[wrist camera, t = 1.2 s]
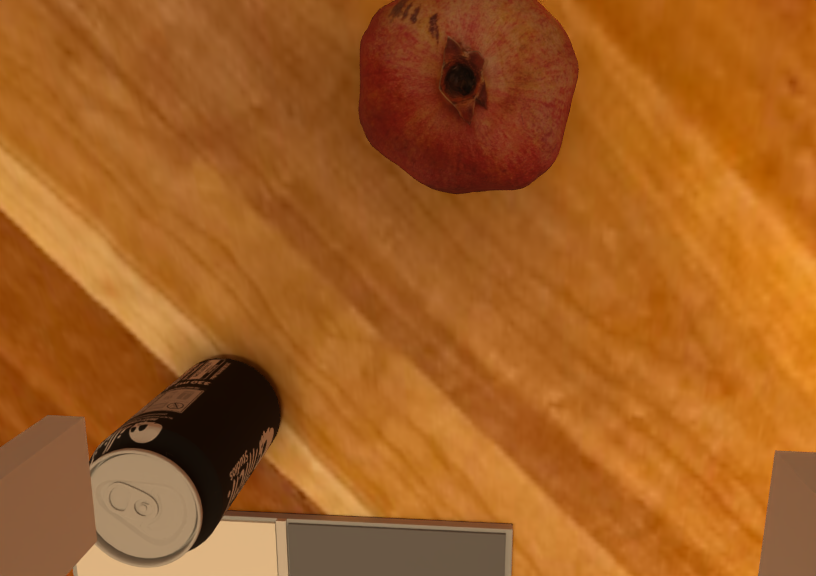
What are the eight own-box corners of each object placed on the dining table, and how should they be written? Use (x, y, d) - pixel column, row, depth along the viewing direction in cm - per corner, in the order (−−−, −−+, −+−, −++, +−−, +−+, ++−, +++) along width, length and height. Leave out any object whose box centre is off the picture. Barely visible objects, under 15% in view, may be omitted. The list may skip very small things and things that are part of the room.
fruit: (331, 79, 38) (280, 63, 28) (475, -56, 36) (473, -123, 26) (459, 231, 39) (452, 266, 29) (606, 109, 37) (651, 103, 27)
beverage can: (265, 471, 44) (187, 597, 32) (166, 432, 44) (51, 544, 32) (298, 377, 42) (228, 474, 30) (195, 337, 42) (85, 419, 30)
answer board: (70, 503, 45) (62, 510, 44) (512, 523, 43) (512, 532, 42) (83, 605, 47) (75, 614, 46) (509, 632, 44) (509, 642, 43)
